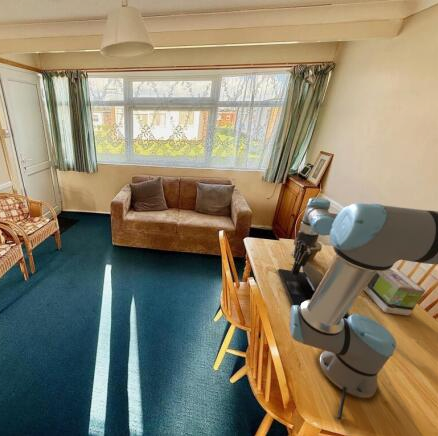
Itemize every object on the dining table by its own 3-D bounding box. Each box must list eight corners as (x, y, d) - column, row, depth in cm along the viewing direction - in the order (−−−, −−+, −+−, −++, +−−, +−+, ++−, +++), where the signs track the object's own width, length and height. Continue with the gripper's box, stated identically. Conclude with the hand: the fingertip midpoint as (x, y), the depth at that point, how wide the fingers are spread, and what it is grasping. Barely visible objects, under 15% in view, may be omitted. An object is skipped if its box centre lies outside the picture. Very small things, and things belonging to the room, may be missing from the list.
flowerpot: (319, 266, 134) (338, 220, 121) (292, 261, 138) (307, 216, 125) (312, 252, 146) (328, 210, 133) (287, 248, 150) (300, 207, 137)
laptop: (294, 312, 104) (295, 309, 103) (278, 271, 130) (278, 268, 129) (348, 321, 99) (349, 318, 98) (320, 277, 125) (321, 274, 124)
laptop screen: (313, 290, 97) (314, 289, 96) (292, 251, 123) (293, 251, 122) (349, 319, 98) (351, 318, 97) (321, 274, 124) (322, 274, 124)
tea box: (409, 316, 101) (427, 290, 95) (383, 312, 103) (399, 287, 97) (385, 292, 114) (399, 268, 108) (362, 289, 116) (374, 266, 110)
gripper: (324, 240, 95) (307, 284, 105) (312, 226, 106) (298, 267, 116) (304, 237, 97) (289, 281, 107) (295, 224, 108) (282, 264, 118)
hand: (294, 273), depth 112 cm, fingers closed
